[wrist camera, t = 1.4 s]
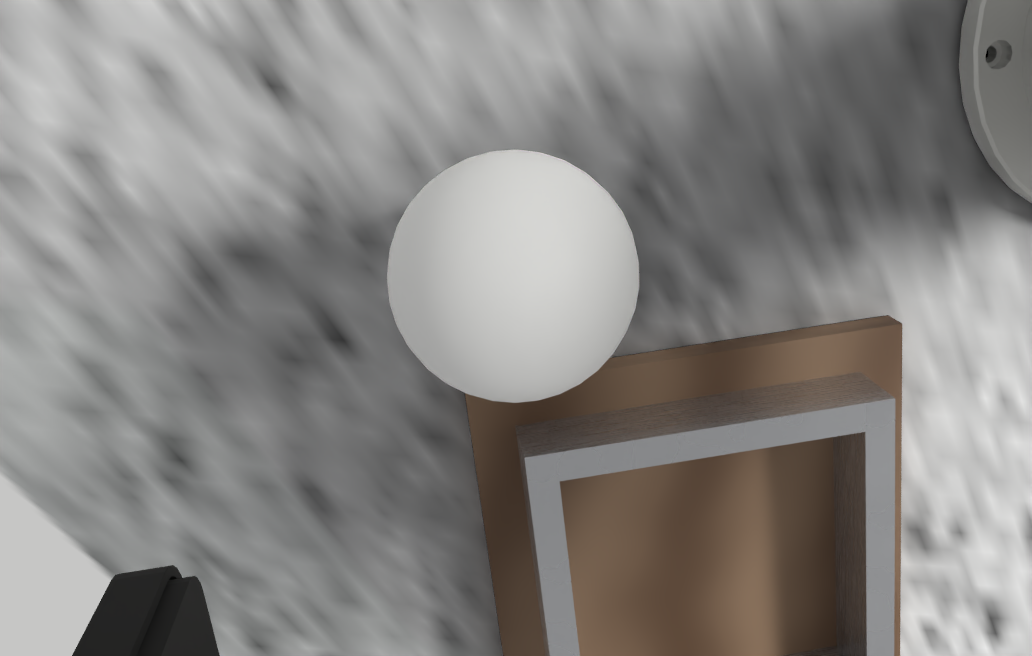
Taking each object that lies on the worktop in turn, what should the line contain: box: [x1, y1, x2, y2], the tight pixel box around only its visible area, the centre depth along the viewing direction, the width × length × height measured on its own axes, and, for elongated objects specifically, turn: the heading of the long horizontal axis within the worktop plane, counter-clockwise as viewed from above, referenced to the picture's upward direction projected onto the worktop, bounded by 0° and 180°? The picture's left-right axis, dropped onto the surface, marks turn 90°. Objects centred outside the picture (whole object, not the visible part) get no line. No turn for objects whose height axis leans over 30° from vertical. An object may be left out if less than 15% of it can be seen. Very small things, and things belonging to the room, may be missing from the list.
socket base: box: [465, 315, 902, 656], centre depth 35 cm, size 15×15×1 cm
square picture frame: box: [515, 372, 895, 656], centre depth 33 cm, size 12×12×2 cm
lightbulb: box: [387, 149, 639, 403], centre depth 26 cm, size 6×6×11 cm
